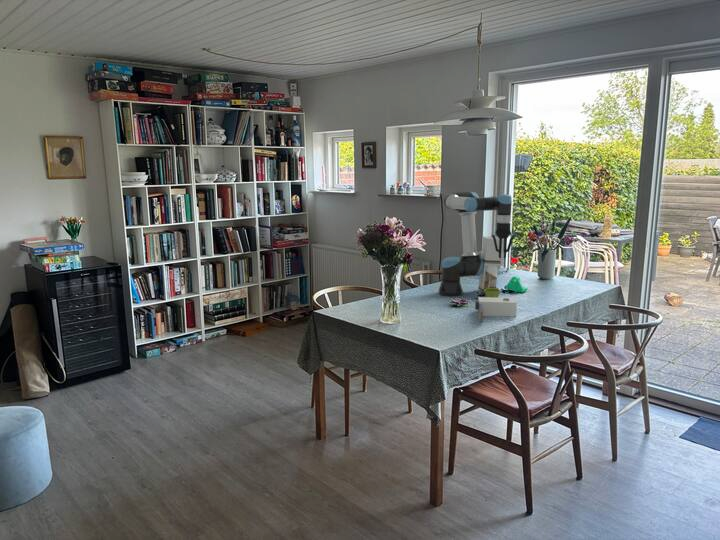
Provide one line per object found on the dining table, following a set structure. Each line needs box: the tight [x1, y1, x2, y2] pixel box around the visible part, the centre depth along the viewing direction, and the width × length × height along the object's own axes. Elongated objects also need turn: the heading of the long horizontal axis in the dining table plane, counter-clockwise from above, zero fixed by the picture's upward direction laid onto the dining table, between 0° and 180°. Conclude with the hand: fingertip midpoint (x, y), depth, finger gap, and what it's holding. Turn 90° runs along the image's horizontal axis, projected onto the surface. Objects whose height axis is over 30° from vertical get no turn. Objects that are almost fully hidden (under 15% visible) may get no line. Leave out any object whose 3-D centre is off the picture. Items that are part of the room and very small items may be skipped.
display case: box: [477, 235, 504, 294], centre depth 347 cm, size 11×11×35 cm
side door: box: [478, 304, 484, 324], centre depth 290 cm, size 17×2×6 cm, turn 171°
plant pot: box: [484, 288, 501, 298], centre depth 321 cm, size 9×9×9 cm
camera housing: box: [474, 296, 518, 318], centre depth 302 cm, size 22×10×9 cm, turn 81°
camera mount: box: [504, 275, 528, 293], centre depth 351 cm, size 12×8×10 cm, turn 47°
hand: (501, 263), depth 307 cm, fingers closed
